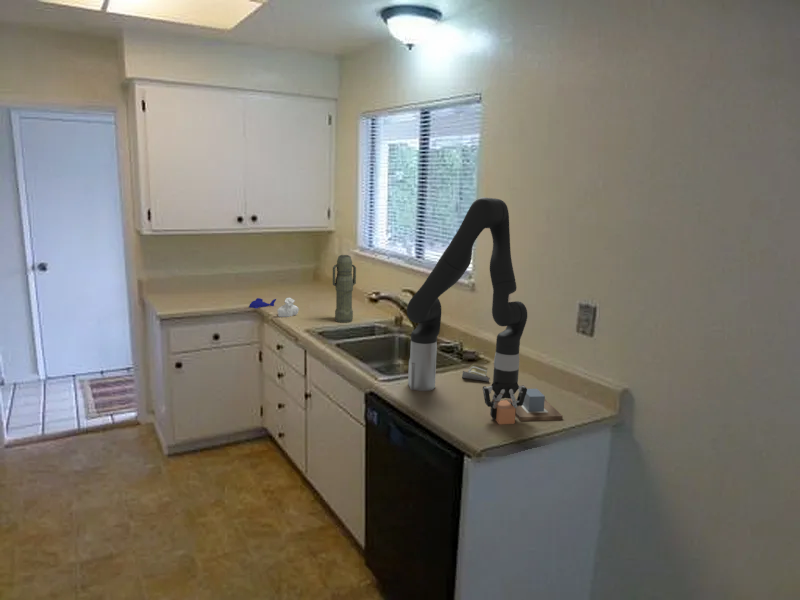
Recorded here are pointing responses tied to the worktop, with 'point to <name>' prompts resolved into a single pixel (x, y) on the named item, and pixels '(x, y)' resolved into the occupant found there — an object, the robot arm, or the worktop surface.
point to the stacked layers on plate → (476, 373)
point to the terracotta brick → (505, 413)
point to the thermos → (344, 288)
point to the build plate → (537, 413)
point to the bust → (288, 308)
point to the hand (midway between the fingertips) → (502, 418)
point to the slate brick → (534, 400)
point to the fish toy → (260, 303)
